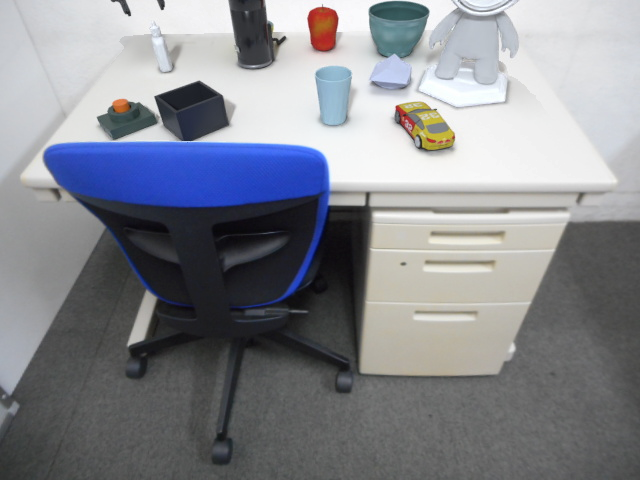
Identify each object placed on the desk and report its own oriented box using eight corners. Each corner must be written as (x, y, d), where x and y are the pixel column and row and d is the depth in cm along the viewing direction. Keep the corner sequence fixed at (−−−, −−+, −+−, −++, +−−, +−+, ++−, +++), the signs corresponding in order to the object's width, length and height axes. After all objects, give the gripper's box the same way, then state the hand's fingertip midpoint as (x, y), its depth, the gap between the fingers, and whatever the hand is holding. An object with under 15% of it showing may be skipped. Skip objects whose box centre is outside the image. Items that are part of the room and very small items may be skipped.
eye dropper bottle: (154, 72, 112) (139, 24, 103) (163, 63, 116) (150, 17, 107) (169, 73, 111) (155, 25, 103) (178, 64, 115) (165, 18, 106)
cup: (342, 131, 88) (342, 84, 81) (310, 123, 91) (308, 77, 83) (356, 115, 93) (357, 69, 86) (325, 108, 96) (324, 63, 88)
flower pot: (434, 56, 114) (442, 14, 106) (383, 67, 110) (387, 24, 102) (404, 37, 125) (409, -3, 117) (356, 46, 121) (358, 5, 113)
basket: (206, 109, 97) (199, 80, 92) (229, 125, 91) (222, 95, 86) (163, 125, 92) (153, 96, 87) (184, 143, 86) (175, 113, 81)
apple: (305, 53, 118) (303, 8, 110) (312, 42, 124) (311, -2, 115) (335, 55, 117) (335, 9, 108) (340, 44, 122) (341, -1, 114)
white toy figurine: (413, 101, 97) (440, -88, 72) (430, 62, 112) (457, -105, 87) (503, 114, 92) (566, -85, 66) (507, 71, 106) (560, -104, 81)
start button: (126, 104, 92) (124, 97, 90) (132, 109, 90) (129, 102, 89) (112, 109, 90) (109, 101, 89) (118, 114, 88) (115, 107, 87)
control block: (142, 110, 97) (136, 94, 94) (157, 123, 93) (151, 106, 90) (100, 125, 93) (92, 109, 90) (113, 139, 88) (106, 123, 85)
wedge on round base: (404, 98, 98) (412, 74, 107) (408, 69, 93) (415, 48, 102) (367, 93, 100) (377, 71, 109) (369, 66, 95) (379, 44, 104)
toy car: (421, 110, 94) (424, 89, 90) (459, 151, 82) (464, 128, 78) (389, 115, 92) (391, 94, 89) (423, 158, 81) (427, 135, 77)
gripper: (88, -57, 100) (116, 8, 101) (147, -64, 105) (173, -3, 106) (94, -35, 107) (120, 25, 108) (149, -43, 112) (173, 14, 113)
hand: (146, 11), depth 107 cm, fingers open, 8 cm apart
